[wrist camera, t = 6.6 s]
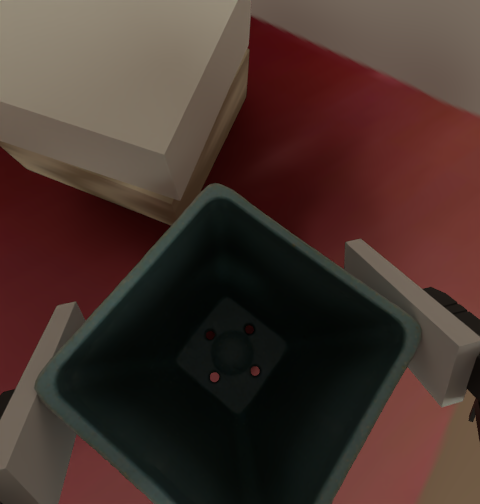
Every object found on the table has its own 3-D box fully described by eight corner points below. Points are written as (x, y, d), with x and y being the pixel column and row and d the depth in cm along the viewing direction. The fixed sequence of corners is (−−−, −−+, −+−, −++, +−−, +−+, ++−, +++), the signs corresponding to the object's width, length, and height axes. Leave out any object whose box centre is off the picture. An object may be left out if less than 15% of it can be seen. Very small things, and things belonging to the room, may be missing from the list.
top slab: (-14, 136, 18) (-88, 72, 14) (82, -5, 22) (45, -92, 17) (180, 201, 18) (164, 154, 13) (248, 44, 21) (253, -34, 17)
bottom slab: (30, 171, 23) (-17, 131, 18) (110, 52, 26) (86, -6, 22) (182, 231, 22) (171, 204, 18) (245, 100, 25) (249, 49, 21)
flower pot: (219, 247, 20) (214, 173, 11) (337, 335, 19) (432, 327, 10) (121, 366, 18) (22, 388, 9) (248, 474, 16) (272, 618, 8)
